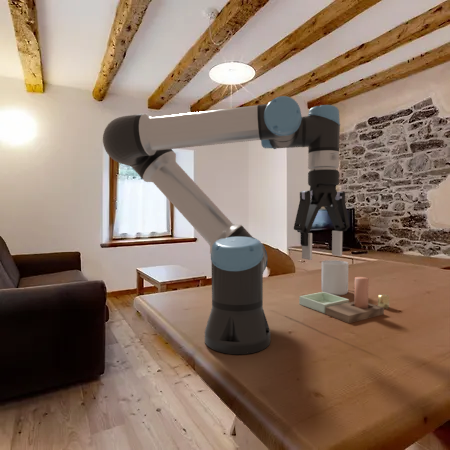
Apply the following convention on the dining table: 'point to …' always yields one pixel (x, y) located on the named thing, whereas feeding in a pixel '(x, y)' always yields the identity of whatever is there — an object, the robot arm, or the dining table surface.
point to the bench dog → (383, 301)
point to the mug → (334, 277)
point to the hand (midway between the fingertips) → (322, 257)
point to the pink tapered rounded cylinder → (361, 292)
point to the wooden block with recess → (353, 312)
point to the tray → (321, 301)
